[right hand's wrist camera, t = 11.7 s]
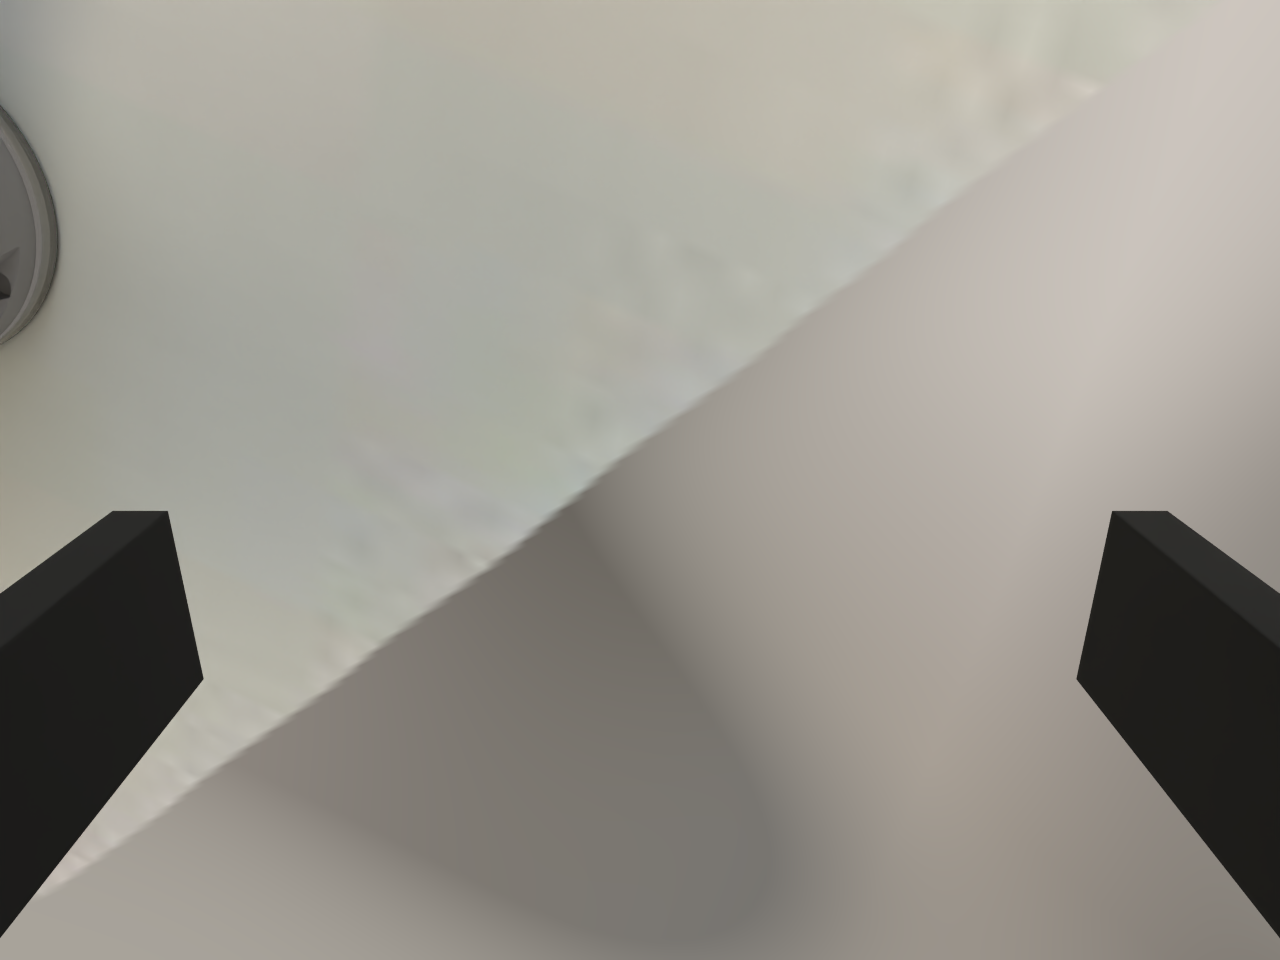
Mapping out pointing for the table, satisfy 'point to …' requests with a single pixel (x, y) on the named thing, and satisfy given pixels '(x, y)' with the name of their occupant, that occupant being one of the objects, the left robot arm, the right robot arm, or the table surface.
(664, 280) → the table surface
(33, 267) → the right robot arm
